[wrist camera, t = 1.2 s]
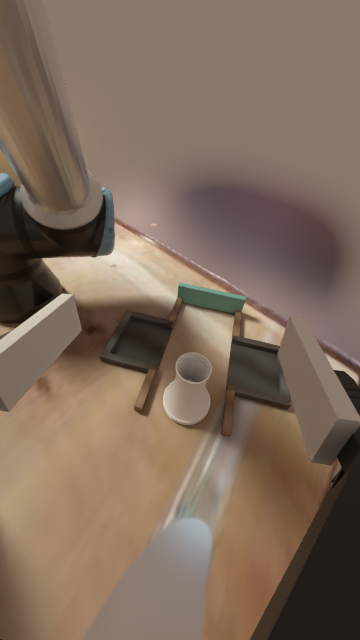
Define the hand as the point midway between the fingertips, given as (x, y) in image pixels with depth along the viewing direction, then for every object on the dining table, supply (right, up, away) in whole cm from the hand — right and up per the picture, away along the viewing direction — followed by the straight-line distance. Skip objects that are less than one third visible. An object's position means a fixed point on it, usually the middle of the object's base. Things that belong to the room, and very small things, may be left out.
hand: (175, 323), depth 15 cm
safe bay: (+7, +3, +40) cm, 41 cm away
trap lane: (+3, -7, +30) cm, 31 cm away
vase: (+1, -13, +24) cm, 27 cm away
